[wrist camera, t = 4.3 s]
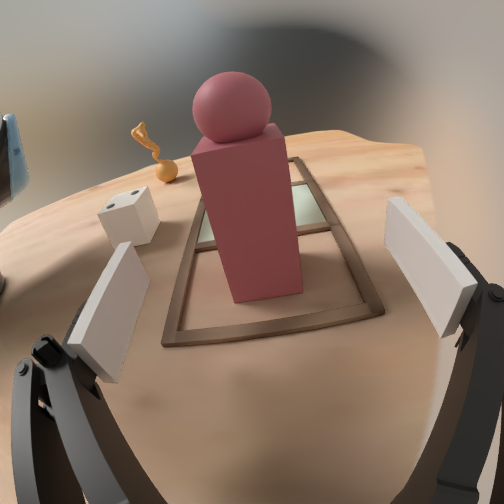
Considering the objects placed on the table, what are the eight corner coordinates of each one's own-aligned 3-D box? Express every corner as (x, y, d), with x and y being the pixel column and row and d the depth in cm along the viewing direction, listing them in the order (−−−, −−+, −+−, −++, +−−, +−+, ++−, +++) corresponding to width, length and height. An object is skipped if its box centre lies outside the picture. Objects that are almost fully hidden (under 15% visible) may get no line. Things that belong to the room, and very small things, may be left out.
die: (114, 250, 30) (97, 213, 28) (127, 228, 35) (113, 195, 32) (150, 243, 30) (133, 203, 27) (160, 221, 34) (147, 185, 31)
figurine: (187, 181, 45) (168, 113, 38) (154, 195, 43) (132, 126, 36) (173, 173, 51) (156, 115, 44) (145, 185, 49) (126, 126, 42)
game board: (163, 346, 18) (160, 343, 18) (209, 174, 46) (209, 172, 45) (384, 314, 17) (385, 310, 16) (298, 158, 44) (298, 156, 44)
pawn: (234, 303, 20) (172, 83, 12) (235, 261, 24) (189, 82, 16) (302, 292, 20) (271, 62, 11) (293, 252, 24) (264, 67, 15)
